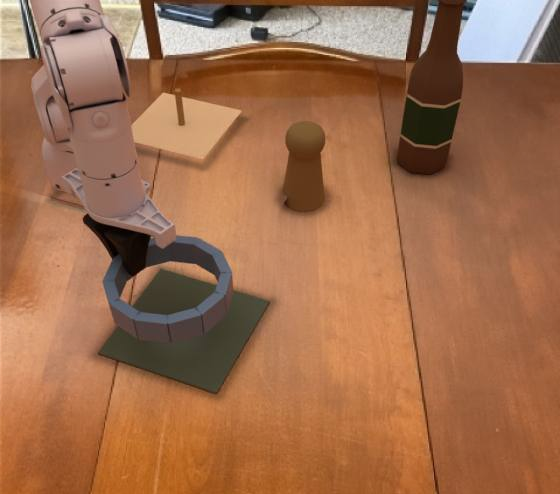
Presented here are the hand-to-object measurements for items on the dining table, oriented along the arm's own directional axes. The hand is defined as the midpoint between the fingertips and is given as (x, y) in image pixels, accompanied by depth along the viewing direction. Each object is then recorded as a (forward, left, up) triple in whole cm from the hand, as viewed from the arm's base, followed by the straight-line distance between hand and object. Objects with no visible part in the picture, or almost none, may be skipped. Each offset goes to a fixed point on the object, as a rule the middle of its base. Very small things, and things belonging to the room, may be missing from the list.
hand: (131, 267), depth 76 cm
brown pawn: (+10, +28, -8) cm, 31 cm away
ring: (+6, -2, -1) cm, 6 cm away
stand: (-13, +36, -8) cm, 39 cm away
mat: (+6, 0, -8) cm, 10 cm away
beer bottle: (+23, +43, -8) cm, 49 cm away
